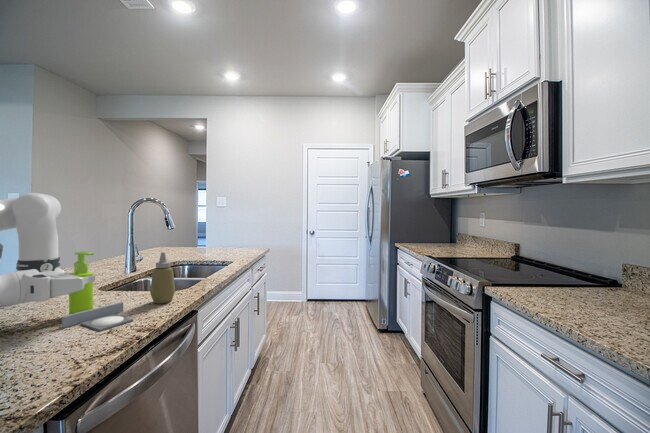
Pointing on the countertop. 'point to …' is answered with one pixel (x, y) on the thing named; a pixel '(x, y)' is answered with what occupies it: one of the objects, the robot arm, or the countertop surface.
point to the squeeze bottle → (162, 281)
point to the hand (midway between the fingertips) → (85, 276)
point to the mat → (106, 322)
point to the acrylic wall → (91, 314)
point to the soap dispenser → (85, 296)
